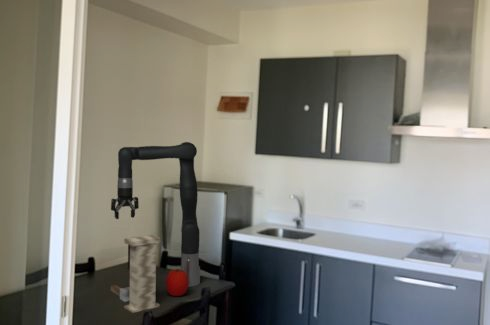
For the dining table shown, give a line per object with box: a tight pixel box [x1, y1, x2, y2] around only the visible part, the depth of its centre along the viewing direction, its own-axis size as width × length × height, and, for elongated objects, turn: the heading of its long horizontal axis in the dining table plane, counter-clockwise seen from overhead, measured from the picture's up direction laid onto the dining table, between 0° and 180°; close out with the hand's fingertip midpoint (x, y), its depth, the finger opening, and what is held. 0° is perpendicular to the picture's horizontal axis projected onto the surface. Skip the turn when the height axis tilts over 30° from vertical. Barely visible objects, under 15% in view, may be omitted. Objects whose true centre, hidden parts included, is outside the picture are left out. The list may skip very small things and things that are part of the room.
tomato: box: [165, 268, 189, 297], centre depth 256 cm, size 12×12×13 cm
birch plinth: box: [123, 234, 161, 314], centre depth 238 cm, size 14×8×32 cm, turn 130°
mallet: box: [110, 284, 130, 303], centre depth 255 cm, size 6×19×5 cm, turn 39°
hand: (124, 218), depth 264 cm, fingers open, 8 cm apart
